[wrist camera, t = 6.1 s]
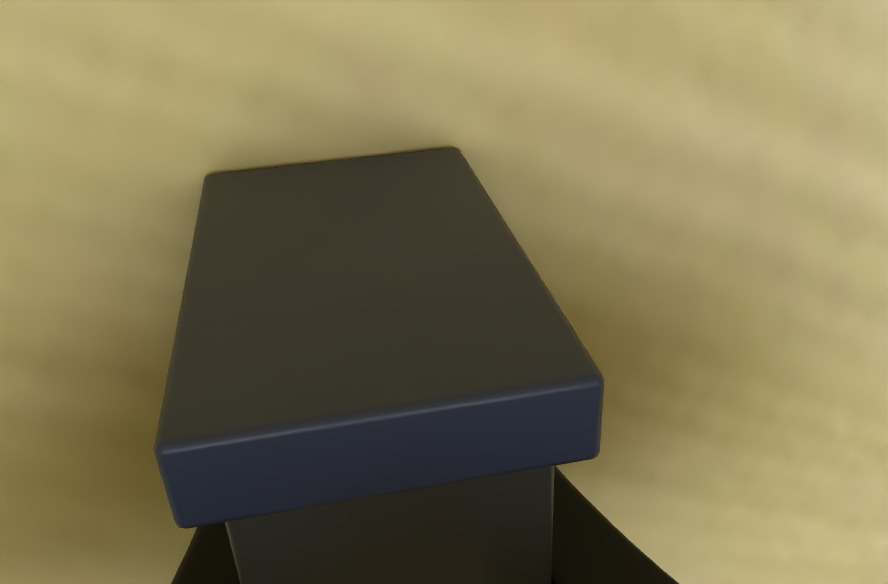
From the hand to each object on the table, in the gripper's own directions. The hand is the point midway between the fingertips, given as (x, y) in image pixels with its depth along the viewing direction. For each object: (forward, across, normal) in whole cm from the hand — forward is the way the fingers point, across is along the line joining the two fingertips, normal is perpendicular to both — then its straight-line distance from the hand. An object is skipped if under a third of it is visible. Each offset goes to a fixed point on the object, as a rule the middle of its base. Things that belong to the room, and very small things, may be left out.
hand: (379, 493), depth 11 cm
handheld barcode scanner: (+1, 0, +4) cm, 4 cm away
